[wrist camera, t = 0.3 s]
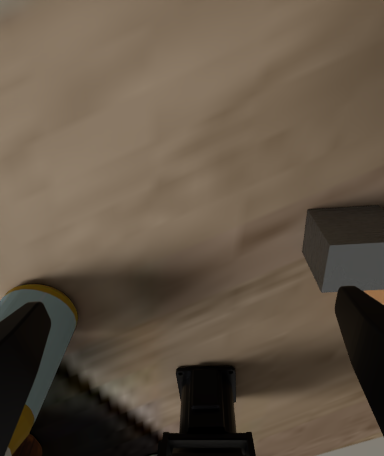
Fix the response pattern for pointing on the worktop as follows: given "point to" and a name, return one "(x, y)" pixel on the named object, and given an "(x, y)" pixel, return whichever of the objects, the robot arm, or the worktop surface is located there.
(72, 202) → the worktop surface
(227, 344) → the worktop surface
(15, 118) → the worktop surface
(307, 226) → the housing
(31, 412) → the bottle
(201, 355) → the worktop surface
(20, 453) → the brown plant pot
